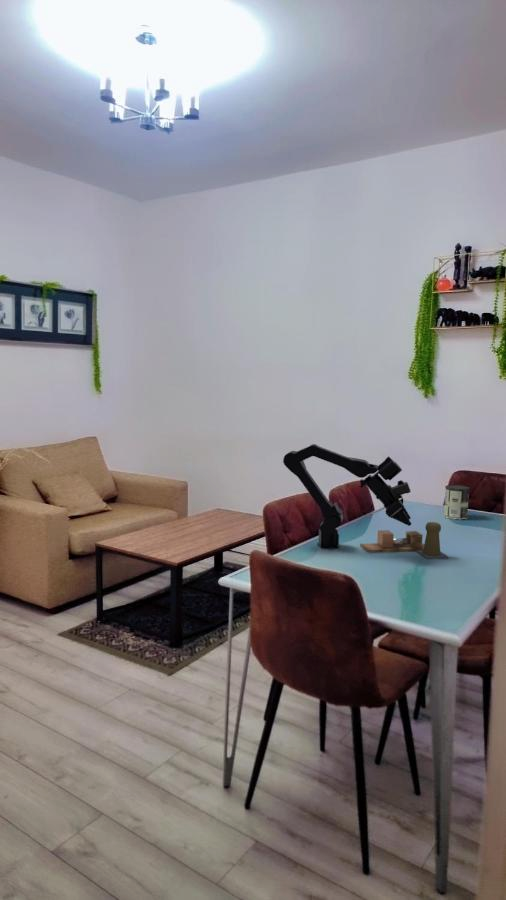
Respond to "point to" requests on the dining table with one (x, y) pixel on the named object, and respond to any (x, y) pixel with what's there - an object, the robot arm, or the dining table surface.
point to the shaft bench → (412, 545)
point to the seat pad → (442, 556)
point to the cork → (432, 539)
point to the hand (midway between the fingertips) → (410, 522)
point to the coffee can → (456, 502)
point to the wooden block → (389, 539)
